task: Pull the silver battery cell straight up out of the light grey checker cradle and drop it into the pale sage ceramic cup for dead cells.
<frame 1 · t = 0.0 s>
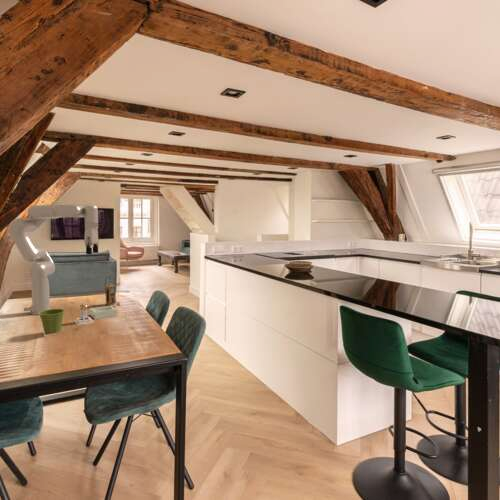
hand: (92, 253, 224), 37 cm above the table, tool pointing down, fingers open, 9 cm apart
plant pot: (52, 333, 186), on the table
checker cradle: (84, 323, 203), on the table
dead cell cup: (103, 317, 217), on the table
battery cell: (84, 321, 203), point 1 cm above the table, touching checker cradle
multimeter: (115, 305, 248), on the table
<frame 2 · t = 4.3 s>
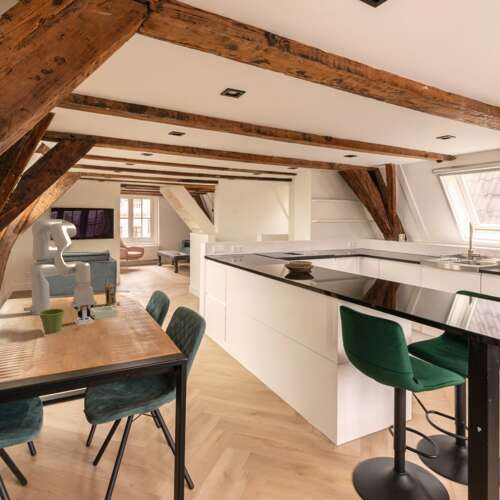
hand: (84, 316, 203), 4 cm above the table, tool pointing down, fingers closed on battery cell, 3 cm apart
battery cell: (84, 321, 203), point 1 cm above the table, touching checker cradle, gripper
everything else where it was.
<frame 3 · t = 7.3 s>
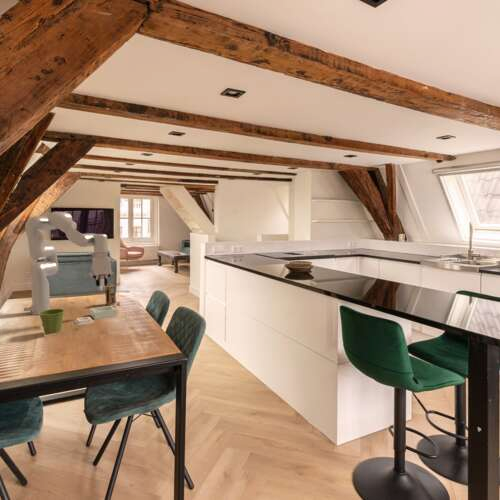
hand: (101, 285, 214), 19 cm above the table, tool pointing down, fingers closed on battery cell, 3 cm apart
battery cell: (101, 290, 215), point 16 cm above the table, touching gripper
everything else where it was.
when the fingers open (6 cm above the table, at t = 10.6 s): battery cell drops 2 cm, resting on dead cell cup.
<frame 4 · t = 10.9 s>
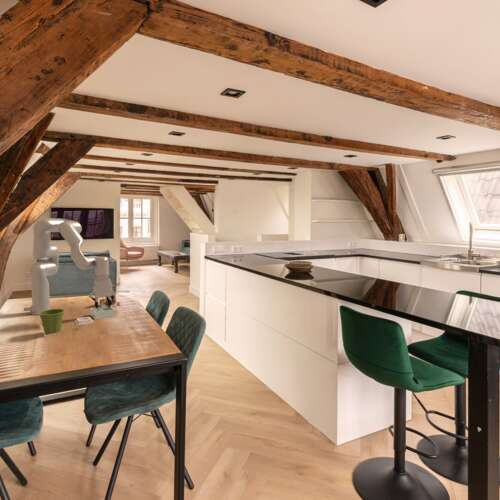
hand: (103, 307, 216), 6 cm above the table, tool pointing down, fingers open, 6 cm apart
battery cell: (103, 315, 216), point 1 cm above the table, touching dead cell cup
everything else where it was.
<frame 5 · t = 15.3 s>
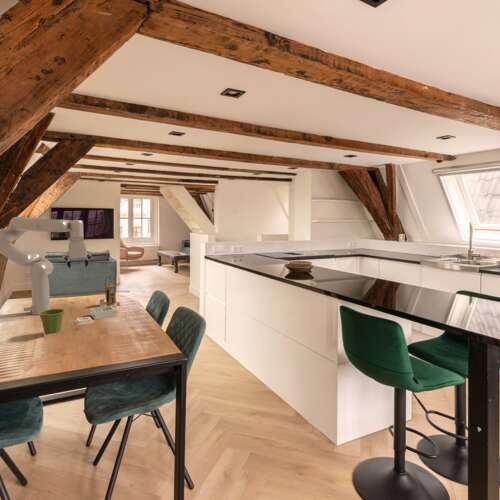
hand: (77, 267, 228), 28 cm above the table, tool pointing down, fingers open, 9 cm apart
nothing on the table moved.
at the end: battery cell inside the target area on the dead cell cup (0.1 cm from its centre), point 1.0 cm above the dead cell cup's base; the gripper is holding nothing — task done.
